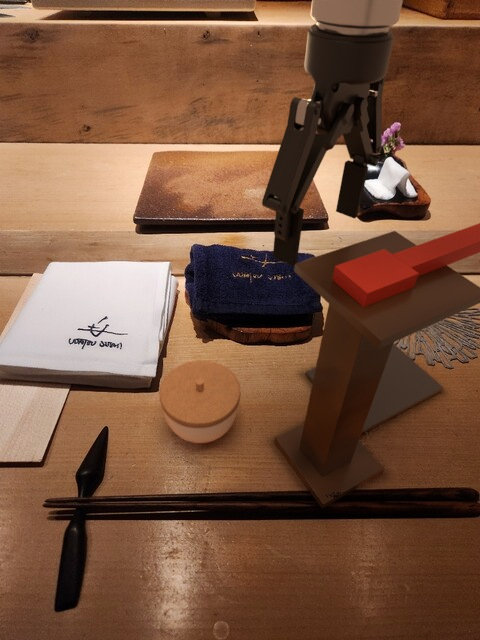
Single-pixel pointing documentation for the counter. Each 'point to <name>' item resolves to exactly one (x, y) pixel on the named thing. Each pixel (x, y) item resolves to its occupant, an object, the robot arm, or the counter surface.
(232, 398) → the trinket box
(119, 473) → the counter surface
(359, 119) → the robot arm
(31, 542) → the counter surface
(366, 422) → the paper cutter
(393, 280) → the red block
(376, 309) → the pedestal stand
